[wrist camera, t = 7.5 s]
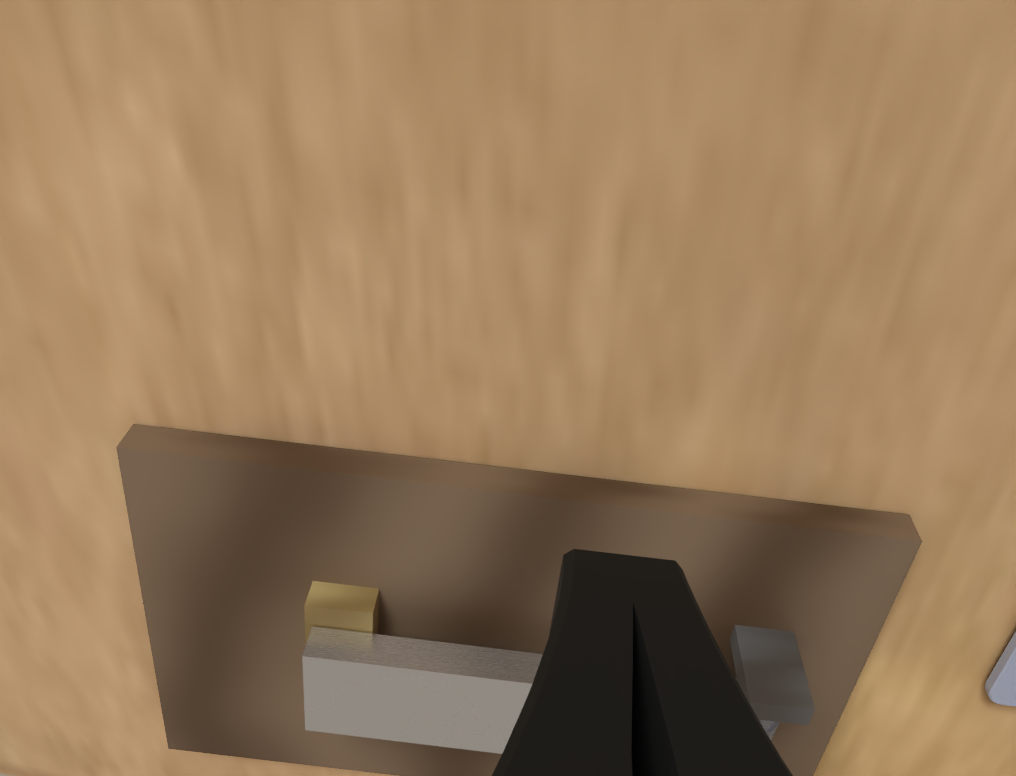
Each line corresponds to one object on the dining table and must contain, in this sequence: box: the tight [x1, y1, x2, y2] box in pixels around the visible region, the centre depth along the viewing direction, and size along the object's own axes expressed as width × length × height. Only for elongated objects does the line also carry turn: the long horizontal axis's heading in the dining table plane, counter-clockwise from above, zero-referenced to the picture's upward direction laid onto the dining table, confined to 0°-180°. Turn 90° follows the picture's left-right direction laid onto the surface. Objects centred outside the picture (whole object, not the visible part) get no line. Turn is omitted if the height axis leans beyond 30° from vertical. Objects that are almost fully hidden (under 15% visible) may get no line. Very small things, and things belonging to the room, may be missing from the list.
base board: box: [117, 424, 922, 776], centre depth 25 cm, size 20×12×4 cm, turn 84°
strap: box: [302, 626, 780, 754], centre depth 24 cm, size 12×3×1 cm, turn 84°
